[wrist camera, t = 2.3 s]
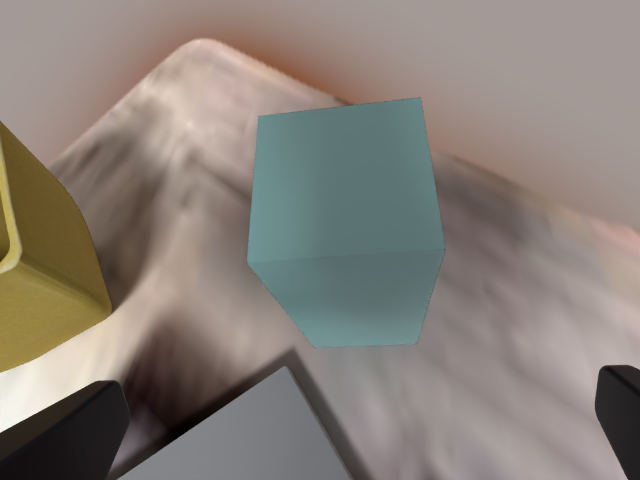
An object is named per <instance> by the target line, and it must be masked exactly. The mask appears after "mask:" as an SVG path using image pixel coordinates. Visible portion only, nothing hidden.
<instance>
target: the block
mask: <svg viewBox="0 0 640 480" xmlns="http://www.w3.org/2000/svg"><path fill="white" fill-rule="evenodd" d="M445 249H446V248H445V242H444V236H443V230H442V224H441V218H440V211H439V205H438V199H437V193H436V187H435V181H434V175H433V169H432V162H431V156H430V150H429V144H428V139H427V132H426V126H425V120H424V114H423V108H422V101H421V98H420V97H419V98H410V99H402V100H393V101H384V102H376V103H367V104H359V105H350V106H342V107H333V108H324V109H316V110H307V111H299V112H290V113H281V114H273V115H264V116H258V128H257V140H256V153H255V165H254V178H253V190H252V203H251V215H250V228H249V240H248V253H247V263H248V265H249V266H250V267H251V269H252V270H253V271H254V272H255V274H256V275H257V276H258V277H259V279H260V280H261V281H262V282H263V284H264V285H265V286H266V287H267V289H268V290H269V291H270V292H271V294H272V295H273V296H274V297H275V299H276V300H277V301H278V302H279V304H280V305H281V306H282V307H283V309H284V310H285V311H286V313H287V314H288V315H289V316H290V318H291V319H292V320H293V321H294V323H295V324H296V325H297V326H298V328H299V329H300V330H301V331H302V333H303V334H304V335H305V336H306V338H307V339H308V340H309V341H310V343H311V344H312V345H313V346H314V348H326V347H352V346H378V345H404V344H416V343H417V340H418V337H419V333H420V330H421V327H422V324H423V320H424V317H425V314H426V311H427V308H428V304H429V301H430V298H431V295H432V291H433V288H434V285H435V282H436V278H437V275H438V272H439V269H440V266H441V262H442V259H443V256H444V253H445Z"/></svg>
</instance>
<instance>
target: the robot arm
mask: <svg viewBox="0 0 640 480" xmlns="http://www.w3.org/2000/svg"><path fill="white" fill-rule="evenodd" d="M595 411H596V415H597V418H598V420H599V422H600V424H601V426H602V428H603V430H604V432H605V435H606V437H607V439H608V441H609V443H610V445H611V447H612V449H613V451H614V453H615V455H616V457H617V459H618V461H619V463H620V465H621V467H622V469H623V471H624V473H625V475H626V477H627V479H628V480H640V370H639V369H637V368H635V367H633V366H630V365H606V366H603V367H602V368H601V369H600V371H599V374H598V382H597V390H596V397H595ZM129 422H130V411H129V408H128V405H127V402H126V399H125V396H124V393H123V390H122V387H121V384H120V383H119V382H118V381H115V380H104V381H96V382H94V383H92V384H90V385H88V386H86V387H84V388H82V389H81V390H79V391H77V392H75V393H73V394H71V395H69V396H68V397H66V398H64V399H62V400H60V401H58V402H56V403H55V404H53V405H51V406H49V407H47V408H45V409H44V410H42V411H40V412H38V413H36V414H34V415H32V416H31V417H29V418H27V419H25V420H23V421H21V422H19V423H18V424H16V425H14V426H12V427H10V428H8V429H6V430H5V431H3V432H1V433H0V480H106V477H107V475H108V473H109V470H110V468H111V466H112V463H113V461H114V459H115V456H116V454H117V452H118V449H119V447H120V445H121V442H122V440H123V438H124V435H125V433H126V431H127V428H128V426H129Z"/></svg>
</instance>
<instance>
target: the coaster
mask: <svg viewBox="0 0 640 480" xmlns="http://www.w3.org/2000/svg"><path fill="white" fill-rule="evenodd" d="M117 480H354V479H353V477H352V475H351V474H350V472H349V470H348V468H347V467H346V465H345V463H344V461H343V460H342V458H341V456H340V455H339V453H338V451H337V449H336V448H335V446H334V444H333V442H332V441H331V439H330V437H329V435H328V434H327V432H326V430H325V428H324V427H323V425H322V423H321V422H320V420H319V418H318V416H317V415H316V413H315V411H314V409H313V408H312V406H311V404H310V402H309V401H308V399H307V397H306V395H305V394H304V392H303V390H302V389H301V387H300V385H299V383H298V382H297V380H296V378H295V376H294V375H293V373H292V371H291V369H289V368H288V367H287V366H283V367H282V368H280V369H279V370H277V371H276V372H274V373H273V374H271V375H270V376H268V377H267V378H265V379H264V380H263V381H261V382H260V383H258V384H257V385H255V386H254V387H252V388H251V389H249V390H248V391H246V392H245V393H243V394H242V395H241V396H239V397H238V398H236V399H235V400H233V401H232V402H230V403H229V404H227V405H226V406H224V407H223V408H221V409H220V410H219V411H217V412H216V413H214V414H213V415H211V416H210V417H208V418H207V419H205V420H204V421H202V422H201V423H199V424H198V425H196V426H195V427H194V428H192V429H191V430H189V431H188V432H186V433H185V434H183V435H182V436H180V437H179V438H177V439H176V440H174V441H173V442H172V443H170V444H169V445H167V446H166V447H164V448H163V449H161V450H160V451H158V452H157V453H155V454H154V455H152V456H151V457H149V458H148V459H147V460H145V461H144V462H142V463H141V464H139V465H138V466H136V467H135V468H133V469H132V470H130V471H129V472H127V473H126V474H125V475H123V476H122V477H120V478H119V479H117Z"/></svg>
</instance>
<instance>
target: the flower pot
mask: <svg viewBox="0 0 640 480" xmlns="http://www.w3.org/2000/svg"><path fill="white" fill-rule="evenodd" d="M111 311H112V304H111V301H110V298H109V295H108V292H107V288H106V285H105V282H104V279H103V275H102V272H101V268H100V265H99V261H98V258H97V254H96V251H95V247H94V244H93V241H92V238H91V235H90V232H89V230H88V227H87V225H86V222H85V220H84V218H83V216H82V214H81V212H80V210H79V208H78V207H77V205H76V203H75V202H74V200H73V199H72V197H71V196H70V194H69V193H68V192H67V191H66V189H65V188H64V187H63V186H62V184H61V183H60V182H59V181H58V180H57V179H56V178H55V177H54V176H53V175H52V174H51V173H50V172H49V171H48V170H47V169H46V168H45V166H44V165H43V164H42V163H41V162H40V161H39V160H38V159H37V158H36V157H35V156H34V155H33V154H32V153H31V152H30V151H29V150H28V149H27V148H26V147H25V146H24V145H23V144H22V143H21V142H20V141H19V140H18V139H17V138H16V137H15V136H14V135H13V134H12V133H11V132H10V130H9V129H8V128H7V127H6V126H5V125H4V124H3V123H2V122H1V121H0V373H1V372H4V371H7V370H9V369H12V368H15V367H17V366H20V365H22V364H24V363H27V362H29V361H32V360H34V359H36V358H38V357H40V356H41V355H43V354H45V353H47V352H48V351H50V350H52V349H54V348H55V347H57V346H59V345H61V344H62V343H64V342H66V341H67V340H69V339H71V338H73V337H74V336H76V335H78V334H80V333H82V332H83V331H85V330H87V329H88V328H90V327H92V326H94V325H96V324H98V323H99V322H101V321H103V320H105V319H106V318H107V317H108V316H109V315H110V314H111Z"/></svg>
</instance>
